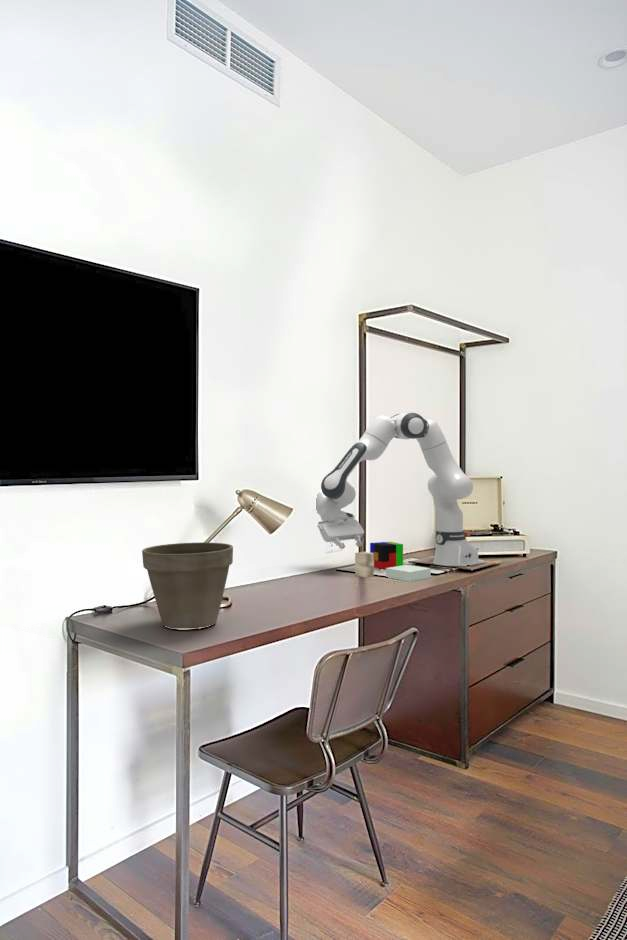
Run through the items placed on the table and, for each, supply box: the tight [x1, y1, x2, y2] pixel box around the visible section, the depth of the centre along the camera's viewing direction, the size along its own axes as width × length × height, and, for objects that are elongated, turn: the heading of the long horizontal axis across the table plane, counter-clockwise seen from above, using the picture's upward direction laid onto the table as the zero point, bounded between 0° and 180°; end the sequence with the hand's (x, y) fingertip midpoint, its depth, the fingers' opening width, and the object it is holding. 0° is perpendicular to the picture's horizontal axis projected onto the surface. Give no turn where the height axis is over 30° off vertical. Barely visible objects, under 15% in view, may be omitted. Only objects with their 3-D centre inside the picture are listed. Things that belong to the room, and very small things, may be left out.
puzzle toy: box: [369, 541, 404, 570], centre depth 287 cm, size 10×10×10 cm
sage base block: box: [385, 564, 432, 583], centre depth 262 cm, size 12×12×4 cm
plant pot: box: [141, 542, 234, 628], centre depth 190 cm, size 25×25×22 cm
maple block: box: [354, 551, 375, 578], centre depth 266 cm, size 5×5×9 cm
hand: (351, 546), depth 271 cm, fingers open, 8 cm apart
